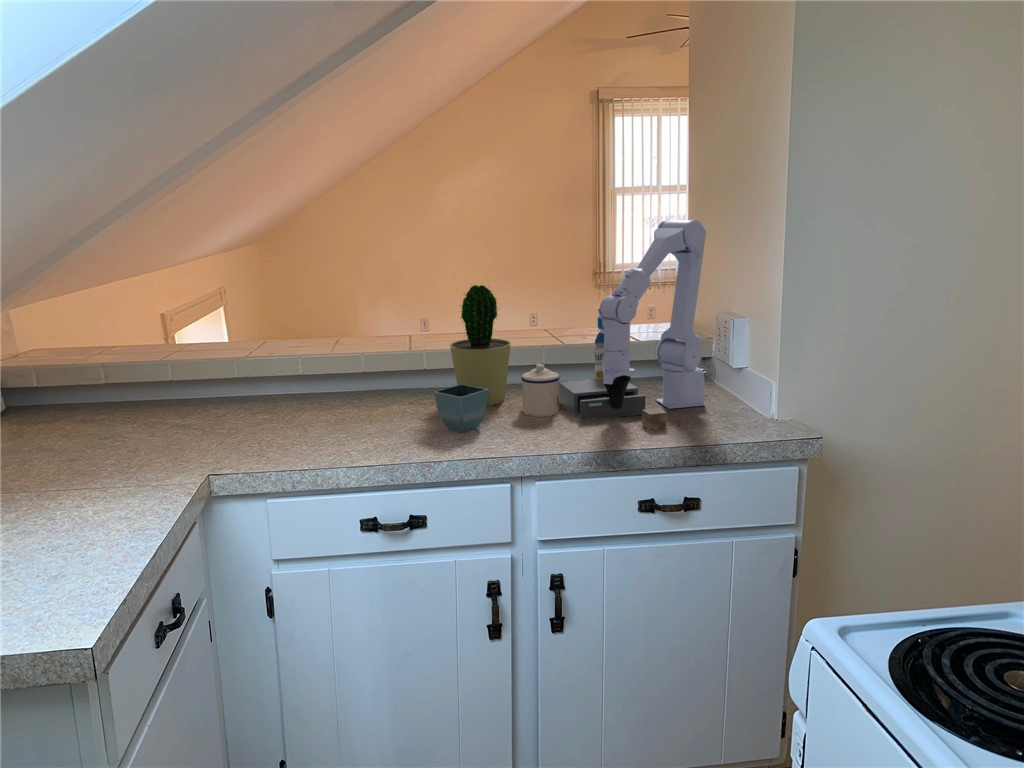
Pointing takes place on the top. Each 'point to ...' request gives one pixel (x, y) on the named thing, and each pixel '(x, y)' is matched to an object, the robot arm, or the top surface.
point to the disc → (600, 396)
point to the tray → (609, 407)
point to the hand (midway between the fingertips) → (616, 407)
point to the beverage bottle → (599, 351)
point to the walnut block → (654, 418)
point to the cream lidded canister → (540, 392)
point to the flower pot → (461, 406)
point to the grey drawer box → (585, 392)
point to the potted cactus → (481, 346)
